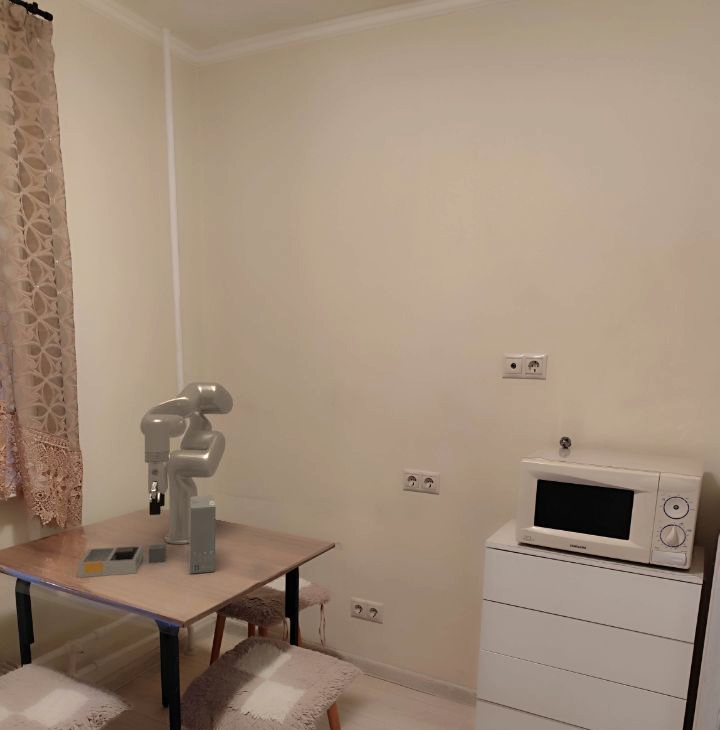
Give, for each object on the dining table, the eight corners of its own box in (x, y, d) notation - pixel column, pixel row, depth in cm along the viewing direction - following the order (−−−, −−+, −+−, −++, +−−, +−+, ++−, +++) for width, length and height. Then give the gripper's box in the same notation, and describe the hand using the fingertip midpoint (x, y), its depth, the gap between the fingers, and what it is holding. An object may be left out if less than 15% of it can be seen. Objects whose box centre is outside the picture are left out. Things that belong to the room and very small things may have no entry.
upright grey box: (166, 557, 186) (166, 544, 186) (164, 562, 182) (164, 548, 182) (150, 558, 185) (150, 545, 185) (148, 563, 181) (148, 549, 181)
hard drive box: (215, 572, 174) (215, 506, 173) (189, 575, 172) (189, 508, 171) (213, 554, 189) (213, 494, 188) (189, 556, 187) (189, 495, 186)
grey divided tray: (142, 557, 185) (142, 541, 185) (135, 573, 172) (135, 556, 172) (89, 561, 182) (89, 544, 182) (77, 577, 169) (77, 559, 169)
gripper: (166, 461, 175) (166, 517, 175) (172, 451, 192) (172, 502, 192) (140, 462, 173) (140, 518, 174) (149, 452, 190) (149, 503, 190)
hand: (157, 510), depth 183 cm, fingers open, 9 cm apart
